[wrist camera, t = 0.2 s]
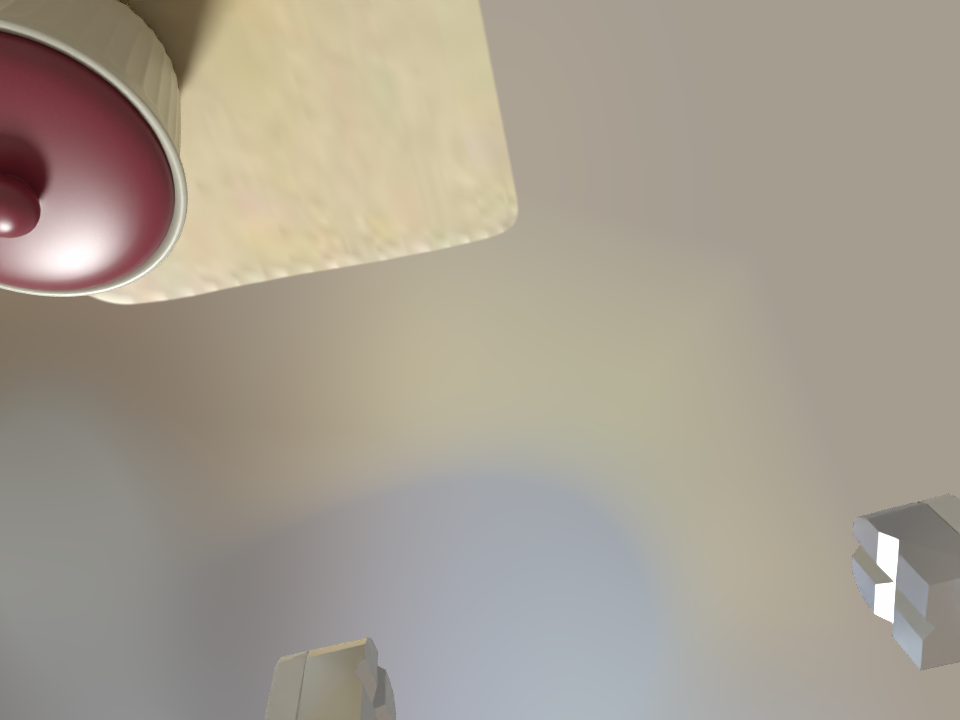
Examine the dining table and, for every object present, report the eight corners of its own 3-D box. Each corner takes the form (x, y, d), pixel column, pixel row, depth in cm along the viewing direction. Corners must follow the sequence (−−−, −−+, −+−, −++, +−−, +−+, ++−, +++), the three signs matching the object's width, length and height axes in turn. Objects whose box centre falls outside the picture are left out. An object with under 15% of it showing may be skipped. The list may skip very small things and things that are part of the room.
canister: (253, 35, 52) (230, 175, 38) (160, 209, 61) (112, 379, 46) (-22, -140, 43) (-199, -42, 28) (-87, 97, 51) (-247, 267, 37)
